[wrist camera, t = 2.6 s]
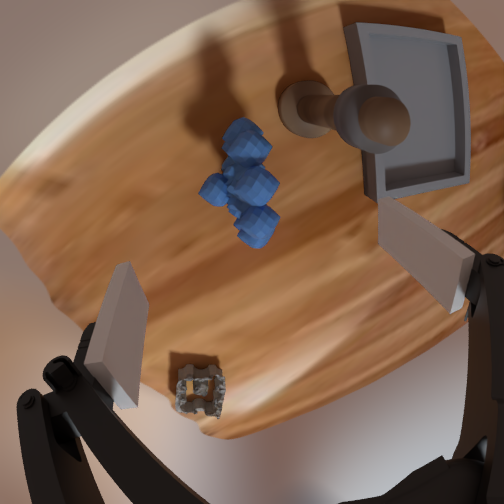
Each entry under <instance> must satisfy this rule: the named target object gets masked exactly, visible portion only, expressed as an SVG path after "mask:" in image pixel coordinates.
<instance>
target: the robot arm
mask: <svg viewBox="0 0 504 504" xmlns="http://www.w3.org/2000/svg"><path fill="white" fill-rule="evenodd" d="M378 244H379V245H380V246H381V247H382V248H383V249H384V250H385V251H386V252H388V253H389V254H390V255H391V256H392V257H393V258H394V259H395V260H396V261H397V262H398V263H399V264H400V265H402V266H403V267H404V268H405V269H406V270H407V271H408V272H409V273H410V274H411V275H412V276H413V277H414V278H415V279H416V280H417V281H418V282H419V283H420V284H421V285H422V286H423V287H424V288H425V289H426V290H427V291H428V292H429V293H430V294H431V295H432V296H433V297H434V298H435V299H436V300H437V301H438V302H439V303H440V304H441V305H442V306H443V307H444V308H445V309H446V310H447V311H448V312H449V313H450V314H451V313H453V312H455V311H457V310H459V309H461V308H462V306H463V302H464V299H465V297H466V298H467V299H468V300H469V301H470V302H469V306H468V309H467V312H466V315H465V319H464V321H466V320H467V318H468V322H469V349H468V350H469V351H468V374H467V387H466V398H465V407H464V415H463V422H462V429H461V435H460V440H459V443H458V445H457V447H456V450H455V452H454V454H453V457H452V459H450V460H445V459H444V458H443V456H440V457H438V458H437V459H435V460H433V461H431V462H430V463H428V464H426V465H424V466H423V467H421V468H419V469H417V470H415V471H413V472H412V473H411V474H409V475H408V476H407V477H406V478H405V479H403V480H402V481H401V482H400V483H398V484H397V485H396V486H395V487H393V488H392V489H391V490H389V491H388V492H387V493H385V494H384V495H381V496H378V497H372V498H367V499H361V500H355V501H348V502H341V503H338V504H504V259H503V258H502V257H500V256H498V255H495V254H484V255H482V254H480V253H479V252H478V251H476V250H475V249H474V248H472V247H471V246H470V245H468V244H467V243H464V241H463V240H461V239H459V238H458V237H457V236H455V235H454V234H452V233H451V232H448V231H446V230H443V229H440V228H438V227H437V226H435V225H434V224H432V223H431V222H429V221H428V220H426V219H425V218H423V217H422V216H420V215H419V214H417V213H415V212H414V211H412V210H411V209H409V208H408V207H406V206H404V205H403V204H401V203H400V202H398V201H396V200H395V199H393V198H391V197H390V196H389V197H385V198H381V199H378ZM148 309H149V303H148V301H147V299H146V296H145V294H144V292H143V290H142V288H141V285H140V283H139V281H138V279H137V276H136V274H135V272H134V270H133V267H132V265H131V262H130V261H129V262H125V263H121V264H118V265H116V267H115V270H114V273H113V275H112V278H111V281H110V283H109V286H108V289H107V292H106V295H105V297H104V300H103V303H102V306H101V309H100V312H99V315H98V318H97V321H96V322H94V323H90V324H89V325H88V326H87V328H86V329H85V330H84V332H83V334H82V337H81V340H80V343H79V346H78V350H77V353H76V356H75V359H74V362H72V361H71V359H70V358H69V357H67V356H59V357H56V358H54V359H52V360H51V361H50V362H49V363H48V364H47V365H46V367H45V368H44V371H43V379H44V381H45V382H46V383H47V384H48V385H49V386H50V387H51V389H52V390H53V392H50V393H48V394H45V395H42V394H40V392H39V391H38V390H36V389H29V390H27V391H25V392H24V393H23V394H22V395H21V396H20V397H19V399H18V402H17V420H18V430H19V438H20V446H21V452H22V459H23V464H24V470H25V475H26V480H27V484H28V489H29V493H30V497H31V501H32V504H105V503H104V501H103V498H102V496H101V494H100V491H99V489H98V487H97V484H96V482H95V480H94V477H93V474H92V471H91V469H90V466H89V463H88V461H87V458H86V455H85V452H84V449H83V446H82V443H81V440H80V436H82V438H83V439H84V441H85V442H86V444H87V445H88V447H89V448H90V450H91V451H92V452H93V454H94V455H95V457H96V458H97V459H98V461H99V462H100V464H101V465H102V466H103V468H104V469H105V470H106V471H107V473H108V474H109V475H110V477H111V478H112V479H113V480H114V482H115V483H116V484H117V485H118V486H119V488H120V489H121V490H122V491H123V493H124V494H125V495H126V496H127V497H128V498H129V499H130V501H131V502H132V503H133V504H210V503H208V502H207V501H206V500H205V499H203V498H202V497H201V496H200V495H198V494H197V493H196V492H195V491H193V490H192V489H191V488H190V487H189V486H188V485H187V484H185V483H184V482H183V481H182V480H181V479H180V478H178V477H177V476H176V475H175V474H174V473H173V472H172V471H171V470H170V469H168V468H167V467H166V466H165V465H164V464H163V463H162V462H161V461H160V460H159V459H158V458H157V457H156V456H155V455H154V454H153V453H152V452H151V451H150V450H149V449H148V448H147V447H146V446H145V445H144V444H143V443H142V442H141V441H140V440H139V439H138V438H137V436H135V434H134V433H133V432H132V431H131V430H130V429H129V428H128V427H127V426H126V424H125V423H124V422H123V421H122V420H121V419H120V418H119V417H118V415H117V414H116V413H115V412H114V411H113V402H115V403H116V405H117V406H118V407H119V408H120V409H128V408H136V407H138V398H139V397H138V396H139V385H140V375H141V365H142V355H143V347H144V338H145V331H146V323H147V316H148Z"/></svg>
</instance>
